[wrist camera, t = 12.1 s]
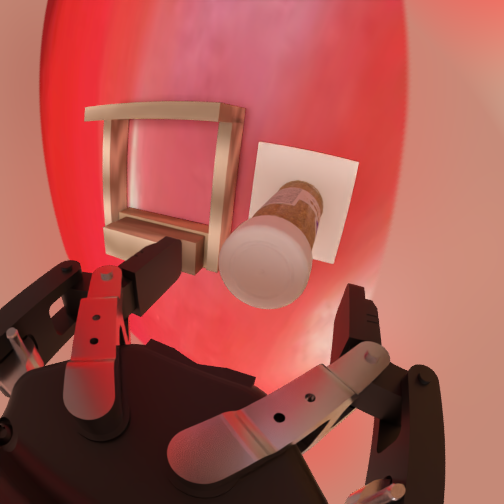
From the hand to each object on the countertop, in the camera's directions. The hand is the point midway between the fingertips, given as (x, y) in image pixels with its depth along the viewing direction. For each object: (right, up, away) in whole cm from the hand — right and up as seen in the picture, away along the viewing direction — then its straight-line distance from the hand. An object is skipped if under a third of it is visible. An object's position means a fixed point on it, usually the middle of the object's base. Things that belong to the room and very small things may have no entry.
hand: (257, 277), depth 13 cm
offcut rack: (-9, +9, +16) cm, 20 cm away
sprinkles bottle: (+4, +6, +12) cm, 14 cm away
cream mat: (+4, +6, +13) cm, 15 cm away
